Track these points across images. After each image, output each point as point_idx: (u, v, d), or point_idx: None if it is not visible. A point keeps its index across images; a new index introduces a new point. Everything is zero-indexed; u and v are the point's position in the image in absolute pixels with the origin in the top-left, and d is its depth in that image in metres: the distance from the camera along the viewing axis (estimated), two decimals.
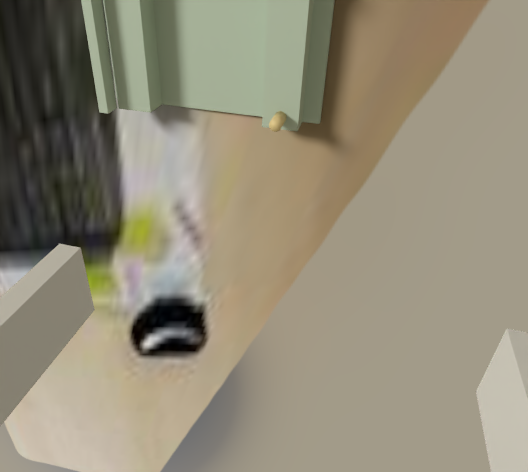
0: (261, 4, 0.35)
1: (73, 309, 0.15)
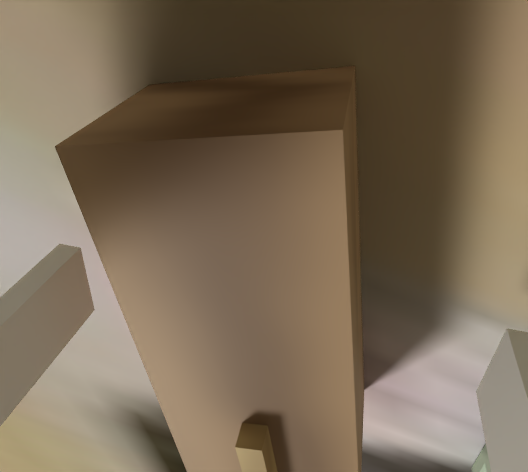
0: None
1: (73, 309, 0.15)
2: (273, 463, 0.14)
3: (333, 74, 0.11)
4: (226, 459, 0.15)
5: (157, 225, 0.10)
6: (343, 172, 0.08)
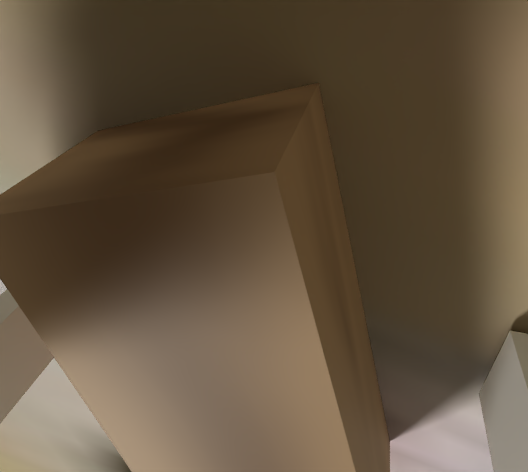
0: None
1: None
2: None
3: (291, 96, 0.10)
4: None
5: (90, 298, 0.08)
6: (287, 223, 0.07)
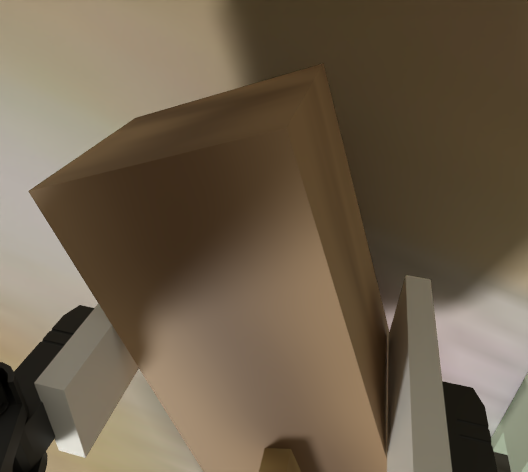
0: None
1: None
2: None
3: (298, 77, 0.11)
4: None
5: (135, 253, 0.10)
6: (298, 172, 0.08)
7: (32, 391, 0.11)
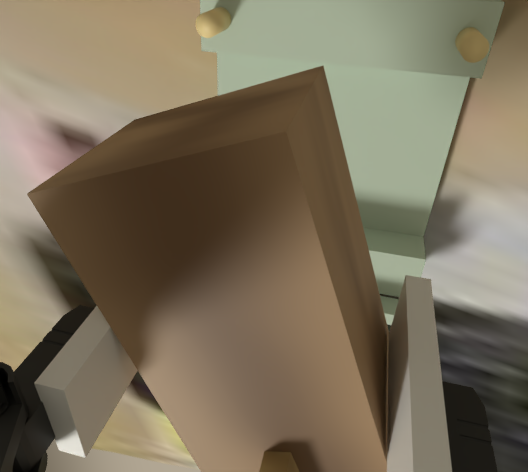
0: (293, 69, 0.24)
1: None
2: None
3: (298, 79, 0.11)
4: None
5: (134, 257, 0.10)
6: (298, 175, 0.08)
7: (32, 391, 0.11)
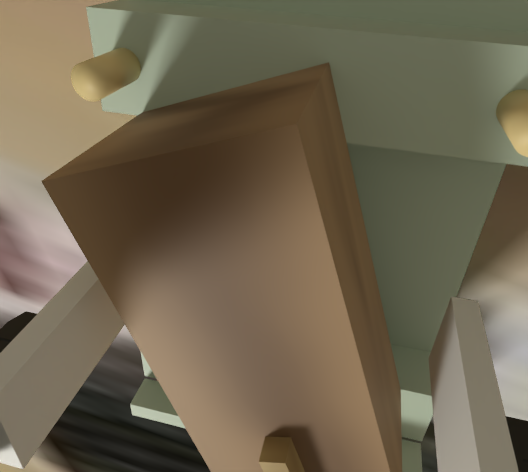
0: None
1: None
2: None
3: (305, 75, 0.11)
4: None
5: (145, 244, 0.10)
6: (306, 166, 0.08)
7: None
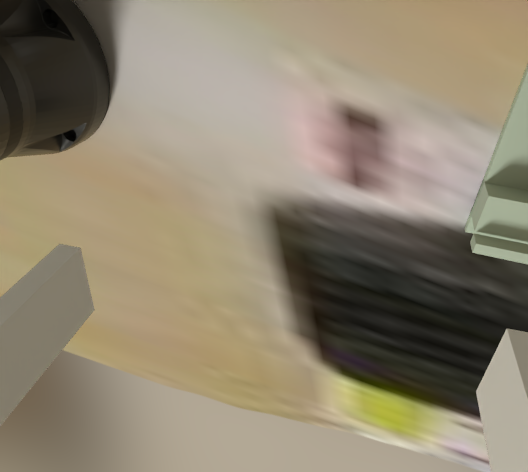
0: None
1: (73, 309, 0.15)
2: None
3: None
4: None
5: None
6: None
7: None
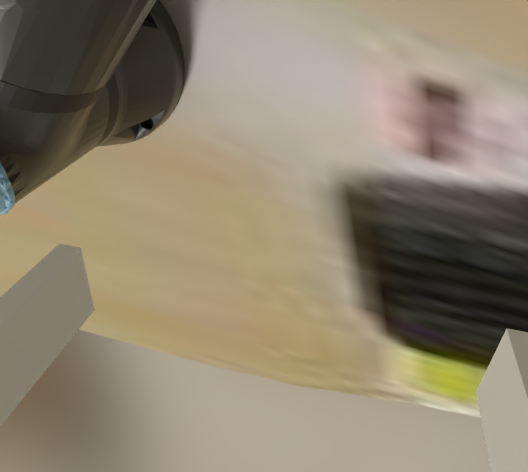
0: None
1: (73, 309, 0.15)
2: None
3: None
4: None
5: None
6: None
7: None
